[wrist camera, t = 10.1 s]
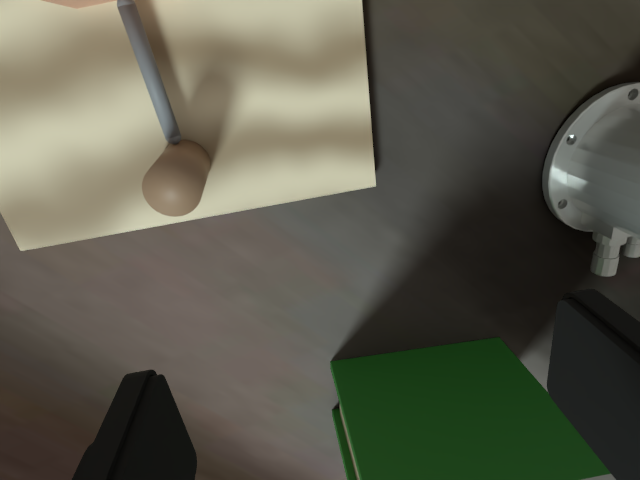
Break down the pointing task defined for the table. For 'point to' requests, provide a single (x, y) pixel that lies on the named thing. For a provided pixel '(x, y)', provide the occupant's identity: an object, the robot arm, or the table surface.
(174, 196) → the spoon
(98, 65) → the lane shelf
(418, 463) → the hardback book
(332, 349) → the table surface
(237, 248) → the table surface
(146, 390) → the robot arm
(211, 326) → the table surface
